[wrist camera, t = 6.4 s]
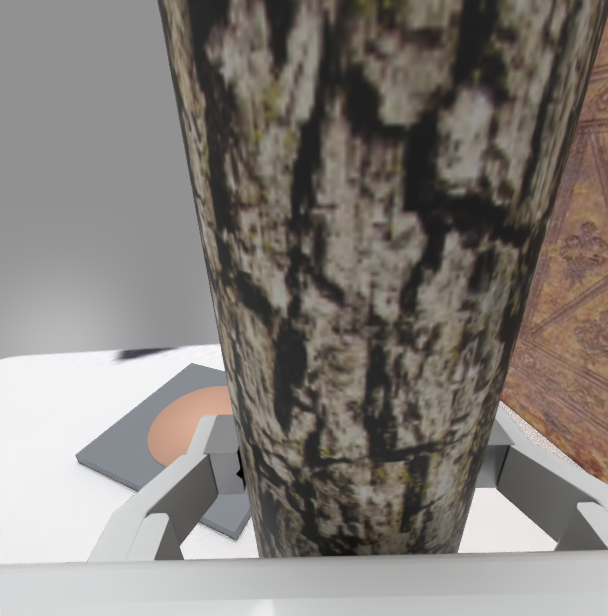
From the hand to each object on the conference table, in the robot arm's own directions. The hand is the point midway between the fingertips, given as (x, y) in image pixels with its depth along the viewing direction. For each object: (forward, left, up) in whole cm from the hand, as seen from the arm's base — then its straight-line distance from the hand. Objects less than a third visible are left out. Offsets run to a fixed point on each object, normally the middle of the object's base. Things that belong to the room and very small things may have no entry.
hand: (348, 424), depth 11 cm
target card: (-16, +8, -14) cm, 23 cm away
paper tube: (0, -1, -14) cm, 14 cm away
